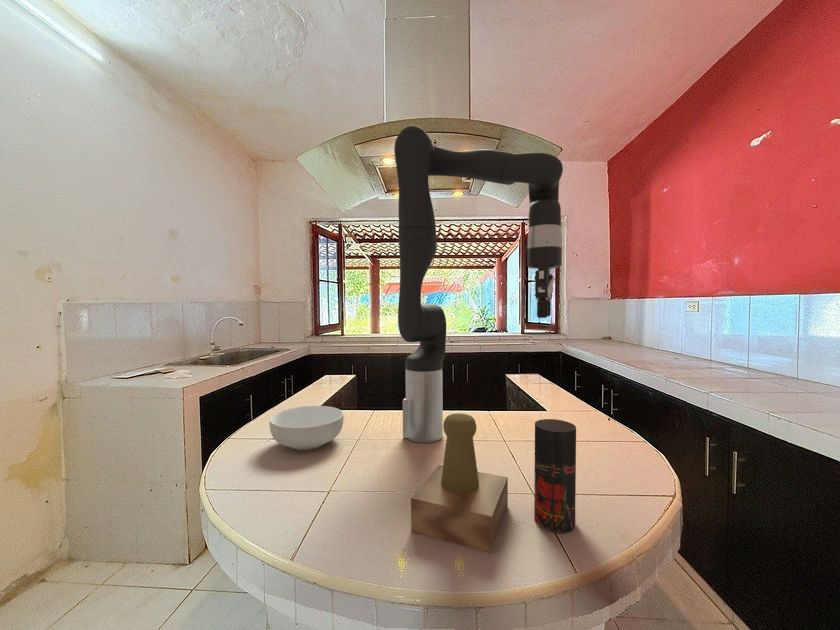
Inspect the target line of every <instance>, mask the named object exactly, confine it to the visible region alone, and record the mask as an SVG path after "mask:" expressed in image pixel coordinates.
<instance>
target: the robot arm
mask: <svg viewBox="0 0 840 630" xmlns="http://www.w3.org/2000/svg"><path fill="white" fill-rule="evenodd" d="M393 147H394V148H393V149H394V157H395V158H394V159H395V167H396V172H397V182H398V183H397V184H398V249H399V250H398V251H399V293H398V307H397V311H398V312H397V324H398V331H399V335H400V336H401V338H402V339H403V341H405V342H407V343H417V342H418V343H419V342H420V343H419V346H418V348H417V349H416V350H414V351H413V352H412V353H410V354H409V355H408V356H406V358H405V361H404V362H405V364H404V365H405V398H403V399H402V438H403V439H404V438H405V439H407V440H409V441H411V442H414V443H423V444H424V443H426V444H427V443H433V442H438V441H440V440H441V439H443V436H444V435H443V432H444V428H443V423H444V418H443V417H444V415H443V406H444V405H443V399H444V398H443V362H444V359H445V355H446V345H447V344H446V343H447V318H446V315H445V311H444V310H443V308H442V307H441V306H440V305H438V304H434V303H422V286H423V281H424V279H425V276H426V274H427V271H428V270H429V268H430V266H431V264H432V262H433V260H434V258H435V255H436V251H437V225H436V218H435V217H436V216H435V212H434V207H433V203H432V197H431V193H430V185H429V177H431V176H435V177H436V176H439V177H440V176H441V177H455V178H456V177H457V178H465V179H472V180H478V181H484V182H488V183H489V182H490V183H493V184H499V185H500V184H501V185H507V186H508V185H511V186H512V185H514V184H515V183H520V184H521V183H522V184H528V198H529V199H528V200H529V209H528V234H527V267H528V269H531V270H532V269H533V270H534V269H536V270H535V272H534V292H535V293H534V297H535V301H537V302H536V317H537V318H539V319H540V318H541V319H546V318H548V317H550V316H551V313H552V312H551V310H552V308H551V307H552V306H551V305H552V304H551V301H552V299H553V293H554V281H555V279H554V278H555V277H554V275H553V274H552V273H551V269H559V268H560V267H562V265H563V264H562V263H563V262H562V261H563V251H562V250H563V249H562V247H563V235H562V233H563V232H562V225H561V224H562V223H561V221H562V220H561V217H562V215H561V214H562V211H561V210H562V209H561V204H560V202H559V197H560V195H559V193H560V192H559V191H560V190H559V188H560V180H561V178H562V176H563V172H564V168H563V167H564V166H563V163H562V161H561V160H560V159H559V158H558V157H557V156H555V155H554V154H553V155H552V154H550V153H545V152H522V153H514V152H508V151H503V150H496V149H490V148H489V149H488V148H487V149H486V148H485V149H484V148H481V149H480V148H479V149H470V150H461V151H460V150H450V149H445V148H442V147H439V146H436V145H434V143H433V141H432V139H431V137H430V136H429V134H428V133H427V132H426V131H425V130H424V129H423V128H421V127H420V126H416V125H409V126H406V127H404V128H403V129H402V130H401V131H400V132H399V133H398V135H397V137H396V139H395V143H394V146H393Z"/></svg>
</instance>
